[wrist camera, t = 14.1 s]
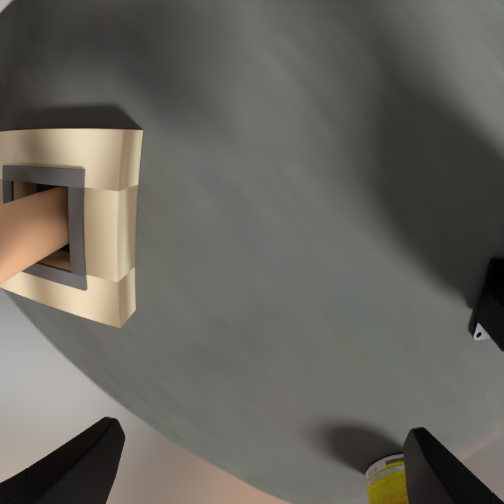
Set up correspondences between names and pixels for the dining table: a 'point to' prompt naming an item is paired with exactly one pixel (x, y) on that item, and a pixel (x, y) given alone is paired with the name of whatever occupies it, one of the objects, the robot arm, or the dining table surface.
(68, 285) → the socket block
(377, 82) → the dining table surface
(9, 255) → the peg
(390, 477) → the supplement bottle
